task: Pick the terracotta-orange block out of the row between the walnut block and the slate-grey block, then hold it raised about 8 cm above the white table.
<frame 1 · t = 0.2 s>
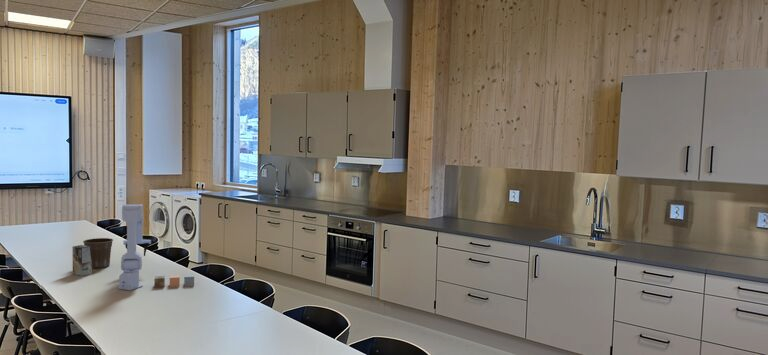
hand: (137, 255, 322), 10 cm above the table, tool pointing down, fingers open, 7 cm apart
slate block: (189, 284, 302), on the table
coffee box: (82, 274, 316), on the table
orange block: (174, 285, 299), on the table
plant pot: (98, 266, 336), on the table
walnut block: (159, 286, 297), on the table
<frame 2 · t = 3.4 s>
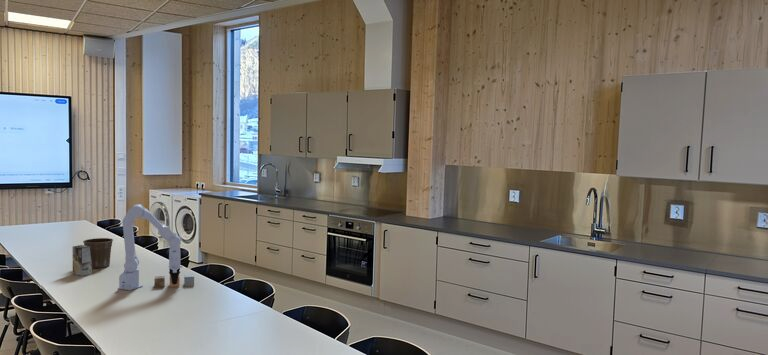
hand: (174, 282, 299), 1 cm above the table, tool pointing down, fingers closed on orange block, 5 cm apart
orange block: (174, 285, 299), on the table, touching gripper
everything else where it was.
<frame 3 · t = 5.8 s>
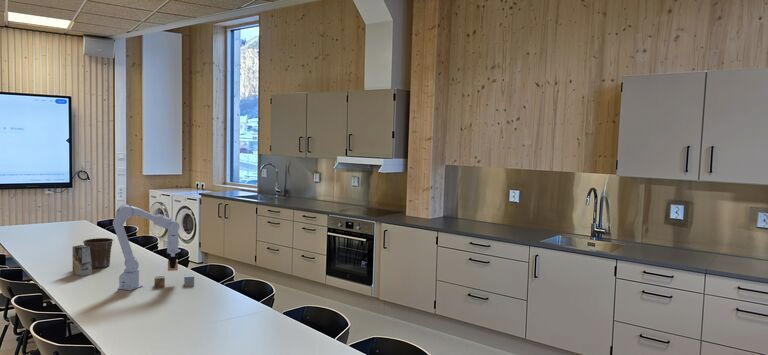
hand: (172, 266, 302), 9 cm above the table, tool pointing down, fingers closed on orange block, 5 cm apart
orange block: (172, 269, 302), point 8 cm above the table, touching gripper
everything else where it was.
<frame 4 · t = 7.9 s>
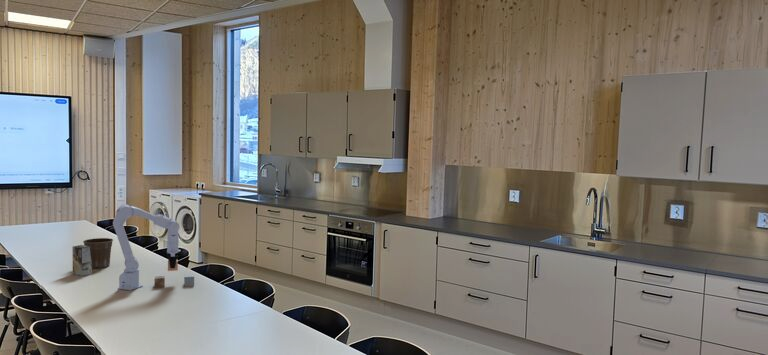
hand: (172, 266, 302), 9 cm above the table, tool pointing down, fingers closed on orange block, 5 cm apart
orange block: (172, 269, 302), point 8 cm above the table, touching gripper
everything else where it was.
at the end: orange block point 7.9 cm above the table; walnut block moved 0.1 cm from its start; slate block moved 0.1 cm from its start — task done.
